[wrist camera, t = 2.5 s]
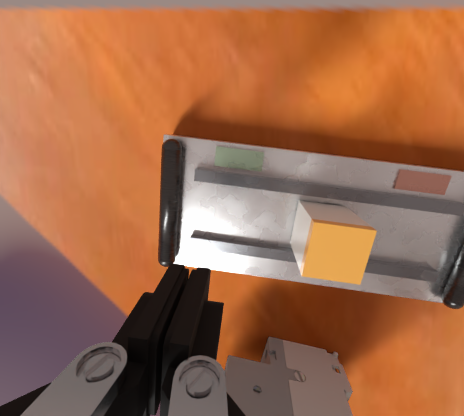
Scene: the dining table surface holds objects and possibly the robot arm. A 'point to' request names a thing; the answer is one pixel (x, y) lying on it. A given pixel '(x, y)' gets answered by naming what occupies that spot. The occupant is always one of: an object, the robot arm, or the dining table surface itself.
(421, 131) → the dining table surface
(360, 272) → the toggle
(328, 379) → the circuit breaker
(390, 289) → the panel
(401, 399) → the dining table surface
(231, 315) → the dining table surface
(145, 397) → the robot arm
